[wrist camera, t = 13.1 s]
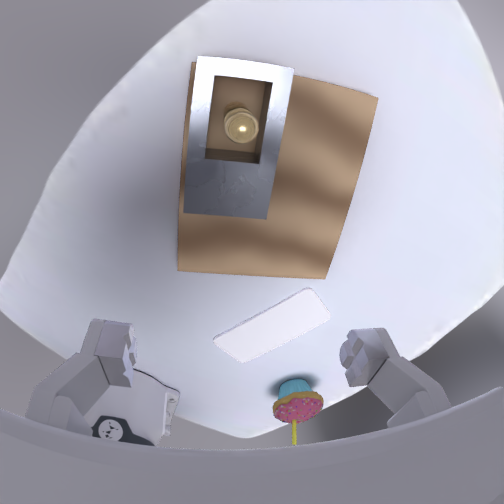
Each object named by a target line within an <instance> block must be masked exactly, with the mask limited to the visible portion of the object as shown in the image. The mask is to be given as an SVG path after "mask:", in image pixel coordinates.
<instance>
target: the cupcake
mask: <svg viewBox="0 0 504 504" xmlns="http://www.w3.org/2000/svg"><path fill="white" fill-rule="evenodd" d="M322 406H323V398H322V396H321V395H319V394H318V393H317V392H314V391H312V390H311V388H310V387H309V385H308V384H307V382H306V381H305V380H303V379H293V380H289V381H286V382H285V383H283V384H282V385H281V386H280V391H279V397H278V400H277V401H276V402H275V403H274V405H273V413H274V416H275V418H277V419H279V420H280V421H282V422H286V423H292V444H293V446H295V445H296V424H299V423H302V422H304V421H306V420H308V419H311V418H313V417H314V416H316V415H317V414H318V413H319V412H320V410H322Z"/></svg>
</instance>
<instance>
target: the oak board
mask: <svg viewBox="0 0 504 504" xmlns="http://www.w3.org/2000/svg"><path fill="white" fill-rule="evenodd" d="M196 65H197V62H192V66H191V73H190V81H189V89H188V97H187V106H186V116H185V126H184V137H183V149H182V162H181V178H180V196H179V221H178V271H186V272H200V273H216V274H232V275H249V276H267V277H286V278H307V279H325V278H326V275H327V272H328V270H329V267H330V264H331V261H332V258H333V255H334V253H335V250H336V247H337V244H338V241H339V238H340V235H341V232H342V229H343V226H344V222H345V219H346V216H347V213H348V210H349V207H350V203H351V200H352V197H353V193H354V190H355V187H356V183H357V180H358V176H359V173H360V169H361V166H362V162H363V158H364V155H365V151H366V147H367V143H368V139H369V135H370V131H371V127H372V123H373V119H374V115H375V111H376V106H377V102H378V98H377V97H374V96H371V95H368V94H365V93H362V92H359V91H355V90H352V89H348V88H345V87H341V86H338V85H334V84H330V83H326V82H322V81H318V80H314V79H310V78H305V77H300V76H296V75H293V80H292V85H291V91H290V96H289V102H288V107H287V113H286V118H285V123H284V129H283V134H282V140H281V145H280V150H279V156H278V161H277V166H276V172H275V177H274V182H273V187H272V193H271V198H270V203H269V208H268V214H267V219H266V220H265V219H254V218H242V217H230V216H217V215H204V214H190V213H183V208H184V189H185V173H186V159H187V146H188V135H189V124H190V115H191V105H192V97H193V88H194V80H195V73H196ZM265 84H266V81H259V80H252V79H245V78H237V77H227V76H217V75H215V82H214V89H213V96H212V104H211V112H210V120H209V129H208V138H207V147H206V148H213V149H224V150H235V151H244V152H253V153H254V151H255V145H256V139H257V136H256V138H255V139H254V140H253V141H251V142H250V143H247V144H236V143H234V142H232V141H231V140H229V139H228V137H227V136H226V134H225V129H224V116H223V112H224V109H225V107H226V106H227V105H228V104H229V103H231V102H241V103H243V104H244V105H245V106H246V107H247V108H248V109H249V111H250V112H251V113H252V114H253V115H254V116H255V118H256V119H257V121H258V124H259V120H260V114H261V108H262V102H263V96H264V90H265Z"/></svg>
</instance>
